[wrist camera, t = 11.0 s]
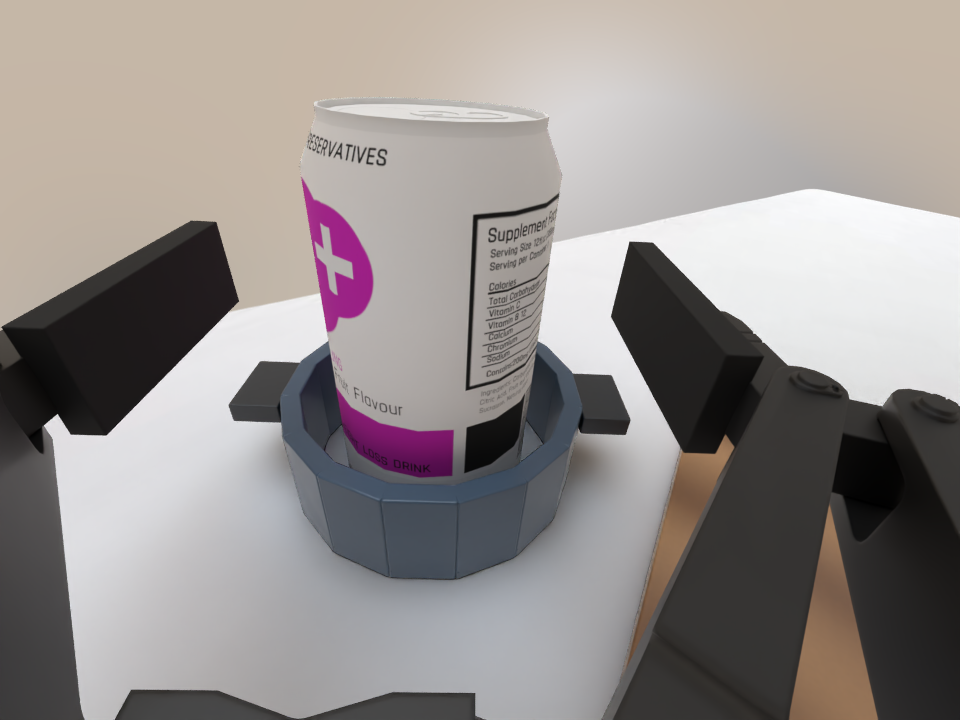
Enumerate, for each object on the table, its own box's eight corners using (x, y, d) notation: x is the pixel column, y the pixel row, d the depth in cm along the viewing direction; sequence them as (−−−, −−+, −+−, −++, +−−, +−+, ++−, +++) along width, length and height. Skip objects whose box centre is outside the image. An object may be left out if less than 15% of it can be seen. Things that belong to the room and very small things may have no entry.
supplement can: (356, 548, 17) (280, 121, 9) (347, 413, 24) (297, 92, 15) (544, 506, 20) (623, 128, 11) (488, 393, 26) (512, 101, 18)
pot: (307, 373, 27) (293, 308, 24) (577, 384, 27) (592, 321, 25) (198, 573, 16) (154, 494, 14) (639, 584, 17) (675, 510, 14)
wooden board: (693, 400, 26) (697, 390, 26) (1028, 512, 21) (1041, 501, 20) (588, 796, 12) (594, 788, 11) (1636, 1561, 6) (1733, 1606, 6)
